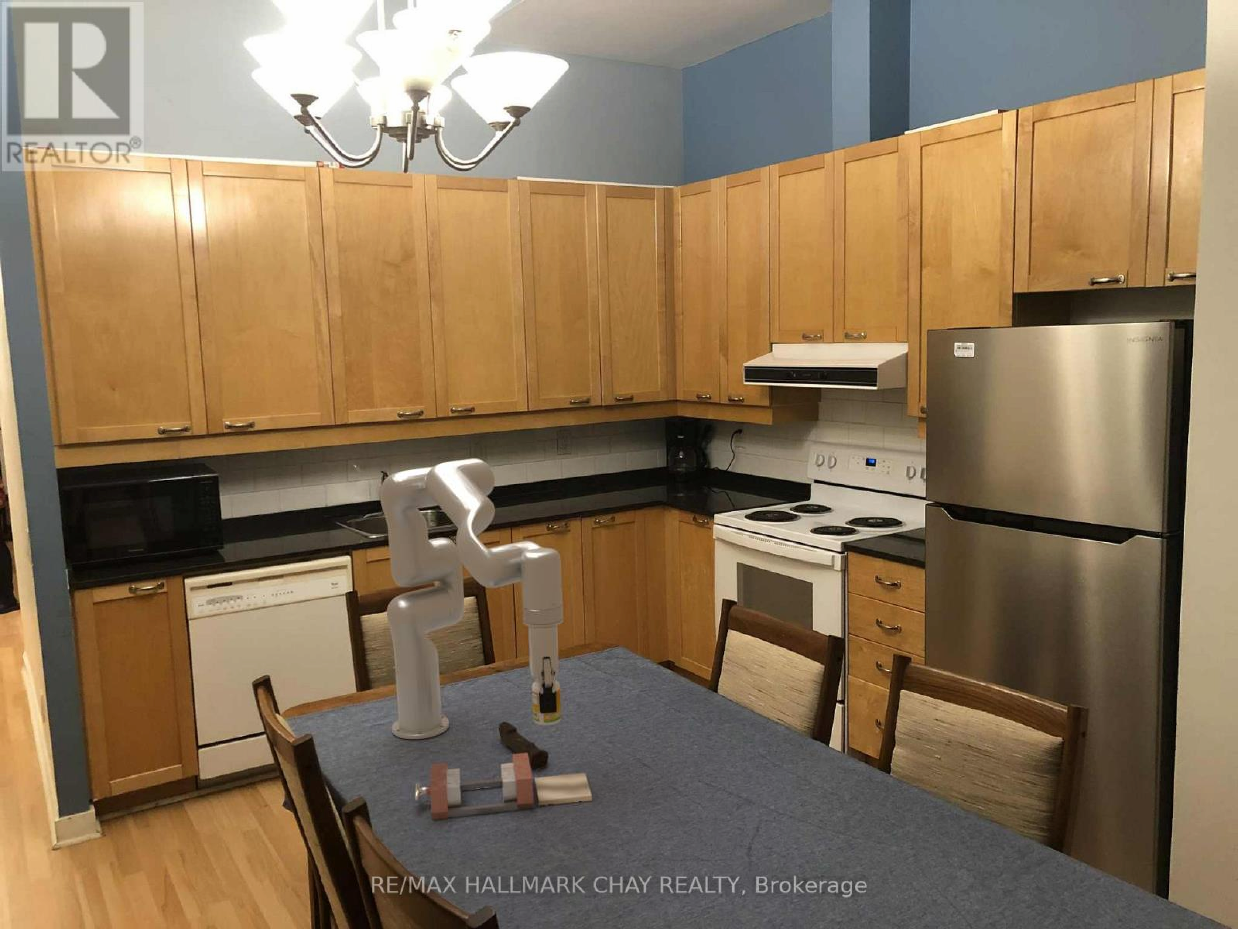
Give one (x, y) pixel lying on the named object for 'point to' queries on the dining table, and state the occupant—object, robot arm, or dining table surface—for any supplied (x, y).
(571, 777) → the birch board
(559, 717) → the supplement bottle
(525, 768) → the vise
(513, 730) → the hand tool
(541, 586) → the robot arm
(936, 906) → the dining table surface
